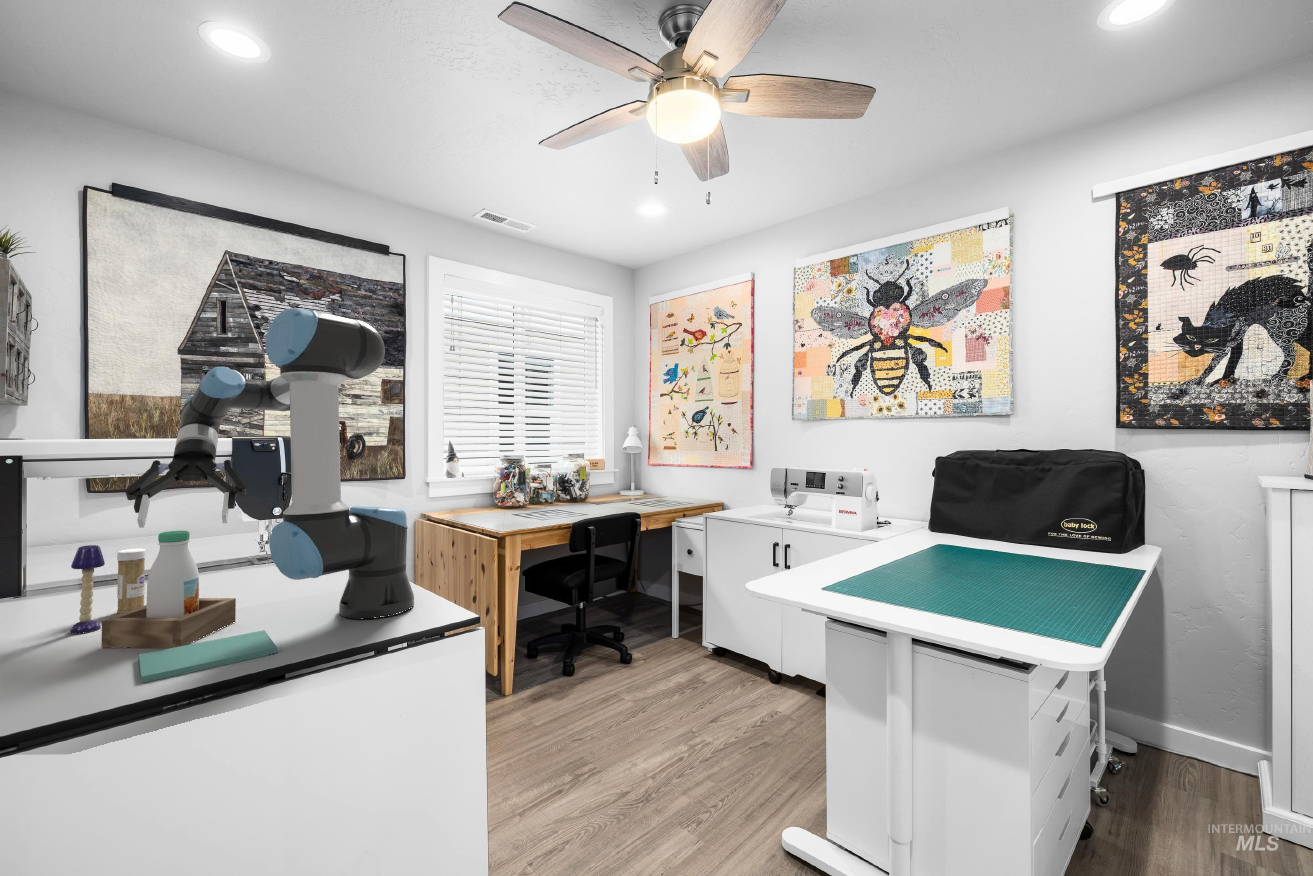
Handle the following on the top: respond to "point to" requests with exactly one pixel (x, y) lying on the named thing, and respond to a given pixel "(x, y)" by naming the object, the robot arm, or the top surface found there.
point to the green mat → (204, 655)
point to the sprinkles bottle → (131, 579)
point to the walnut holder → (167, 626)
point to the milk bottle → (173, 578)
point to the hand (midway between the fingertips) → (183, 521)
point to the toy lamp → (87, 585)
